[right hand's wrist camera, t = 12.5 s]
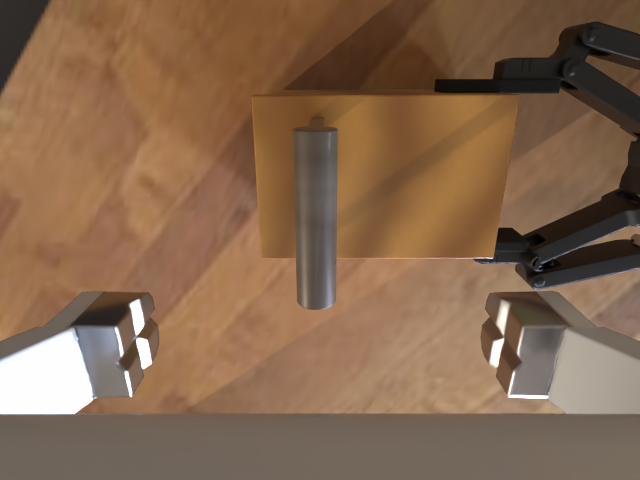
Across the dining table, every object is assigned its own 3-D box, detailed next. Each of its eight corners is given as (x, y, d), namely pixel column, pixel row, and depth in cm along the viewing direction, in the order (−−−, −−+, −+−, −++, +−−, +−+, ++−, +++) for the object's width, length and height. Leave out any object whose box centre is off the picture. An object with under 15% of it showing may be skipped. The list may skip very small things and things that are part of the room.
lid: (262, 253, 26) (236, 329, 18) (253, 94, 22) (216, 103, 14) (488, 253, 25) (561, 329, 18) (513, 93, 22) (617, 102, 14)
